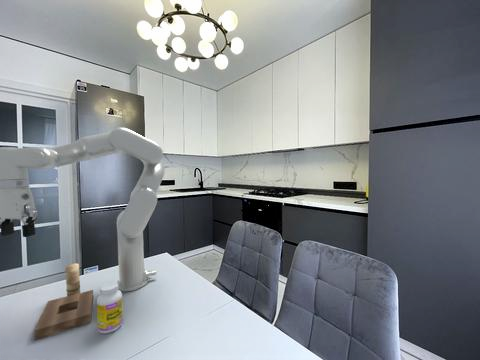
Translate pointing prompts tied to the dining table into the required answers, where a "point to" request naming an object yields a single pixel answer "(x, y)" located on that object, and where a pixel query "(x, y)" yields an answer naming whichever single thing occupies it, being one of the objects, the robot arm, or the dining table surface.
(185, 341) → the dining table surface
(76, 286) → the peg
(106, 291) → the supplement bottle
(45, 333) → the board
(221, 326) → the dining table surface
